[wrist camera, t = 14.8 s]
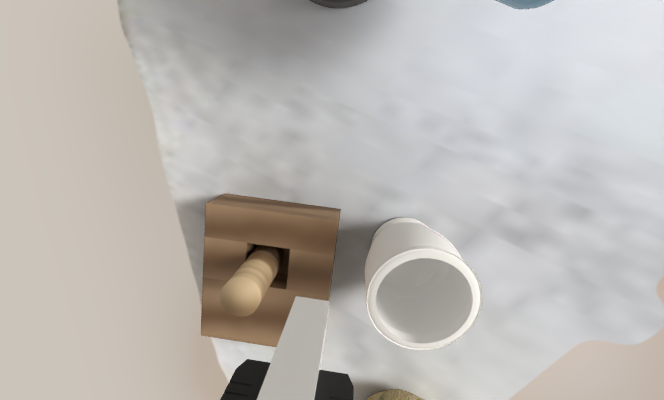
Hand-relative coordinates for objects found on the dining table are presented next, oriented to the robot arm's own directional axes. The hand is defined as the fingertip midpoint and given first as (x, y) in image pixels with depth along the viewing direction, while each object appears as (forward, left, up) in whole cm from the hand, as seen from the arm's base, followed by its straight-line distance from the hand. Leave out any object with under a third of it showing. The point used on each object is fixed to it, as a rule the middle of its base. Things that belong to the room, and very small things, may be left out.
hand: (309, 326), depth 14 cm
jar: (+6, +9, -31) cm, 32 cm away
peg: (+9, -9, -28) cm, 31 cm away
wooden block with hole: (+11, -8, -30) cm, 33 cm away
